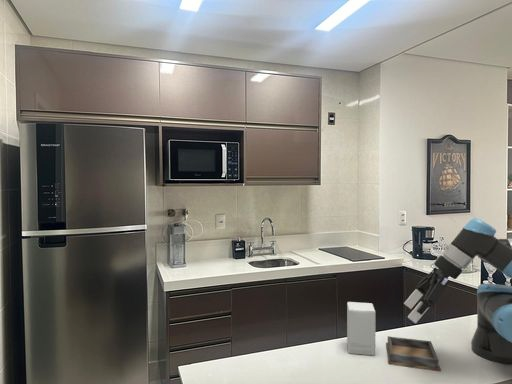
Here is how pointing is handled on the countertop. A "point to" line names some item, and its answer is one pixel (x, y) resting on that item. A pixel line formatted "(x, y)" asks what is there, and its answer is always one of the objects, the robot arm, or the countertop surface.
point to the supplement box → (361, 328)
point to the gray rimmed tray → (412, 353)
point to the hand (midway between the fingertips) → (409, 312)
